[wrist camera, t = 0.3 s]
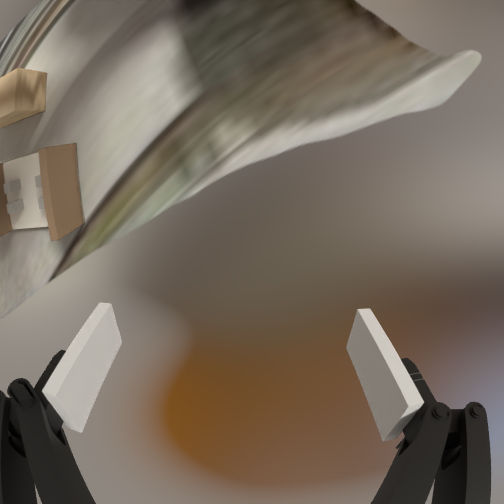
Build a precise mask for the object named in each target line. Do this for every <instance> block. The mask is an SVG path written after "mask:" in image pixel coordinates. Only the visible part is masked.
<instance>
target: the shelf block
mask: <svg viewBox="0 0 504 504" xmlns="http://www.w3.org/2000/svg"><path fill="white" fill-rule="evenodd" d="M46 80H47V73H45V72H39V71H33V70H27V69H21V68H17V69H15V70H13V71H12V72H10V73H8V74H6V75H5V76H3V77H1V78H0V128H2V127H6V126H8V125H10V124H12V123H15V122H17V121H19V120H22V119H24V118H27V117H29V116H32V115H34V114H37V113H40V112H43V111H45V97H46Z"/></svg>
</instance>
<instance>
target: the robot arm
mask: <svg viewBox="0 0 504 504" xmlns="http://www.w3.org/2000/svg"><path fill="white" fill-rule="evenodd" d="M121 344H122V340H121V337H120V333H119V330H118V327H117V323H116V320H115V316H114V312H113V308H112V305H111V304H109V303H99V304H98V305H97V307H96V308H95V310H94V311H93V312H92V314H91V315H90V317H89V318H88V320H87V321H86V322H85V324H84V325H83V327H82V328H81V330H80V331H79V333H78V334H77V336H76V337H75V339H74V340H73V342H72V343H71V345H70V346H69V348H68V349H67V351H64V350H61V351H59V352H58V353H57V354H56V355H55V356H54V357H53V358H52V360H51V361H50V364H49V365H48V366H47V368H46V370H45V371H44V372H43V374H42V376H41V377H40V379H39V381H38V382H37V384H36V386H35V388H34V389H33V387H32V386H31V384H30V382H29V381H28V380H26V379H23V378H19V379H16V380H14V381H13V382H12V383H11V384H10V385H9V387H8V390H7V393H8V395H9V396H10V397H11V398H8V397H6V395H5V394H4V393H3V392H2V391H1V390H0V504H37V498H36V492H35V485H36V488H37V491H38V494H39V497H40V499H41V502H42V504H96V503H95V501H94V499H93V497H92V496H91V494H90V492H89V490H88V488H87V486H86V484H85V481H84V479H83V477H82V475H81V473H80V471H79V468H78V466H77V464H76V461H75V459H74V457H73V454H72V452H71V449H70V447H69V444H68V441H67V438H66V436H65V433H64V430H63V429H62V427H61V426H62V424H63V422H64V423H65V424H66V425H67V427H68V428H69V429H72V430H75V431H78V432H81V433H82V432H83V429H84V427H85V424H86V422H87V419H88V417H89V414H90V412H91V409H92V407H93V405H94V402H95V400H96V398H97V395H98V393H99V391H100V389H101V386H102V384H103V382H104V380H105V377H106V375H107V373H108V371H109V369H110V367H111V365H112V362H113V360H114V358H115V356H116V354H117V352H118V350H119V348H120V346H121ZM346 348H347V350H348V353H349V355H350V357H351V360H352V362H353V365H354V367H355V370H356V372H357V375H358V377H359V380H360V382H361V385H362V387H363V390H364V392H365V395H366V398H367V400H368V403H369V405H370V408H371V411H372V413H373V416H374V419H375V421H376V424H377V427H378V429H379V432H380V435H381V438H382V441H387V440H391V439H394V438H397V437H398V436H399V435H400V434H401V432H402V431H403V433H404V435H405V437H404V439H402V441H401V442H400V443H399V444H398V445H397V447H396V448H397V449H398V448H399V450H398V452H397V454H396V456H395V458H394V460H393V463H392V465H391V467H390V469H389V471H388V473H387V475H386V477H385V479H384V481H383V483H382V485H381V486H380V488H379V490H378V492H377V494H376V496H375V497H374V499H373V501H372V502H371V504H425V502H426V500H427V497H428V495H429V492H430V490H431V487H432V484H433V482H434V479H435V482H434V490H433V498H432V504H490V495H491V457H490V441H489V431H488V422H487V414H486V411H485V408H484V407H483V406H482V405H481V404H480V403H478V402H470V403H469V404H467V405H466V407H465V408H464V409H450V408H449V407H448V406H447V405H445V404H443V403H440V402H437V401H436V400H435V398H434V396H433V395H432V393H431V391H430V389H429V387H428V386H427V384H426V382H425V380H423V377H422V375H421V374H420V373H419V370H418V369H417V367H416V365H415V364H414V363H413V362H412V361H411V360H409V359H408V358H404V359H400V358H399V356H398V354H397V352H396V351H395V349H394V347H393V346H392V344H391V342H390V341H389V339H388V337H387V336H386V334H385V332H384V331H383V329H382V327H381V326H380V324H379V322H378V321H377V319H376V318H375V316H374V314H373V313H372V311H371V310H370V309H358V310H357V313H356V317H355V320H354V324H353V327H352V331H351V334H350V337H349V341H348V344H347V347H346ZM34 483H35V484H34Z"/></svg>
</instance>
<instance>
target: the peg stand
mask: <svg viewBox="0 0 504 504" xmlns="http://www.w3.org/2000/svg"><path fill="white" fill-rule="evenodd" d="M83 223H85V221H84V214H83V208H82V200H81V193H80V184H79V174H78V163H77V147H76V143H73V144H66V145H59V146H52V147H46V148H43V149H39V152H37V153H33V154H30V155H27V156H23V157H20V158H17V159H14V160H11V161H8V162H5V163H1V164H0V237H1V236H3V235H4V234H6V233H8V232H9V231H11V230H13V229H24V228H37V227H48V228H49V233H50V237H51V241H54V240H60V239H61V238H63V237H64V236H65V235H67V234H68V233H70V232H71V231H73V230H74V229H76V228H77V227H79V226H80V225H82V224H83Z"/></svg>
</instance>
